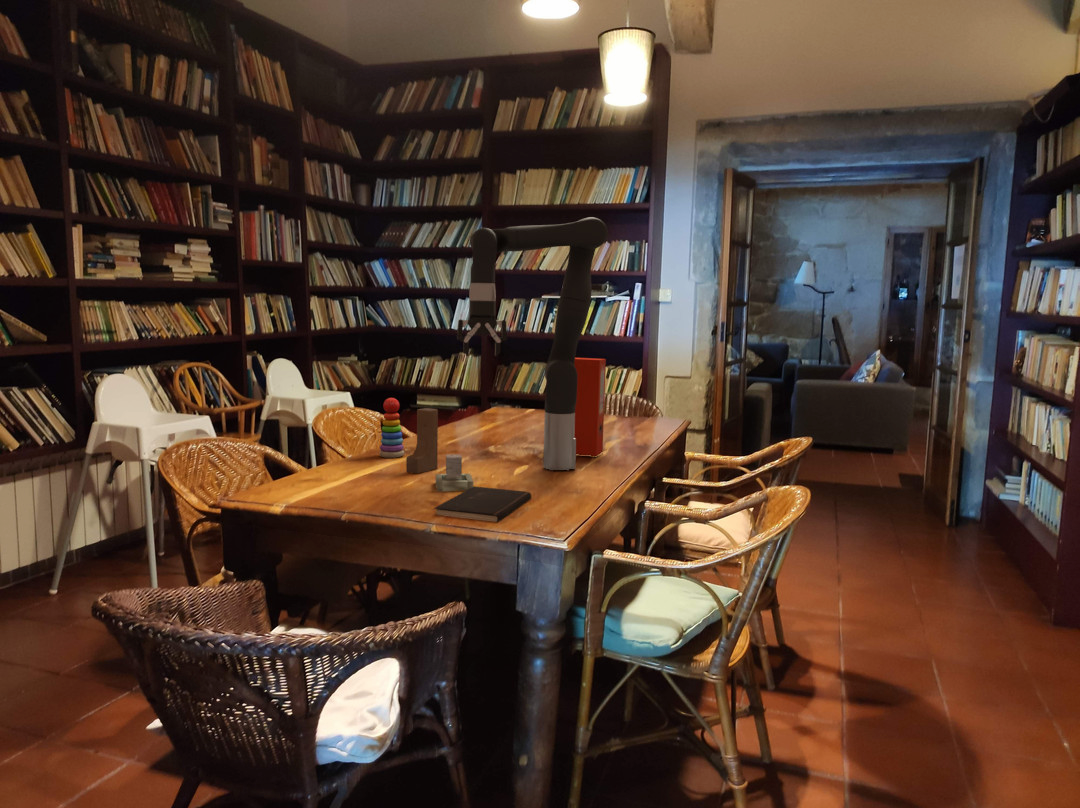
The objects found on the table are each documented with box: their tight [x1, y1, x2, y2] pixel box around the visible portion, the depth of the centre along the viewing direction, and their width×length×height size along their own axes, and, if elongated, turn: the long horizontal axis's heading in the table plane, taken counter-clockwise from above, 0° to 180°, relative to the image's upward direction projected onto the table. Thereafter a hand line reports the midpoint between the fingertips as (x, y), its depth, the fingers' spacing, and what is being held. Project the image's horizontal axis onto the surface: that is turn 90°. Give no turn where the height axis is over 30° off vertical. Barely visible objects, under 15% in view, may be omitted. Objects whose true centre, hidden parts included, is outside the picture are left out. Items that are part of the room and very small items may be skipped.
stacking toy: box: [378, 397, 405, 459], centre depth 243 cm, size 8×8×19 cm
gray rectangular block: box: [445, 454, 463, 481], centre depth 205 cm, size 4×4×8 cm
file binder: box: [574, 357, 607, 456], centre depth 253 cm, size 8×17×32 cm, turn 70°
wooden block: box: [405, 407, 439, 474], centre depth 223 cm, size 9×4×18 cm, turn 146°
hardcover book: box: [433, 485, 532, 523], centre depth 186 cm, size 16×23×2 cm
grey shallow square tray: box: [435, 473, 474, 492], centre depth 205 cm, size 10×10×2 cm
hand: (481, 355), depth 221 cm, fingers open, 8 cm apart
